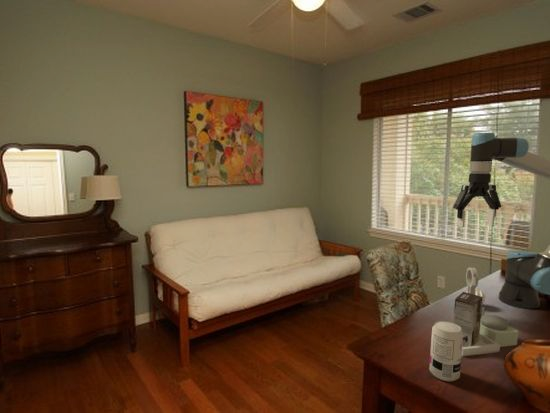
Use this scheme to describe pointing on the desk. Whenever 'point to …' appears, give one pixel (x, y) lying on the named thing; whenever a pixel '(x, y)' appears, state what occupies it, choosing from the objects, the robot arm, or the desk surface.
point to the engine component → (473, 283)
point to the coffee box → (468, 317)
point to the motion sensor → (479, 294)
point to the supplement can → (446, 351)
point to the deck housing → (492, 336)
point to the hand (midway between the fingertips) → (475, 225)
